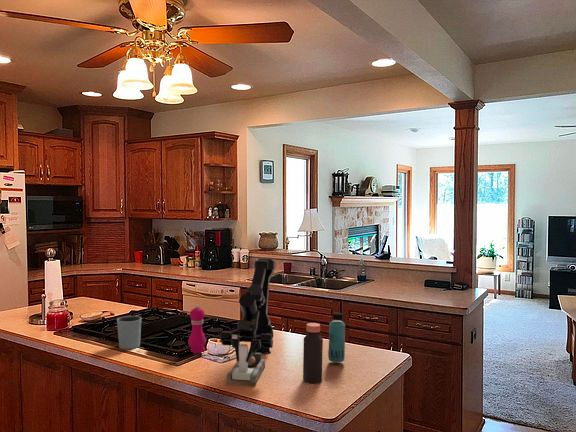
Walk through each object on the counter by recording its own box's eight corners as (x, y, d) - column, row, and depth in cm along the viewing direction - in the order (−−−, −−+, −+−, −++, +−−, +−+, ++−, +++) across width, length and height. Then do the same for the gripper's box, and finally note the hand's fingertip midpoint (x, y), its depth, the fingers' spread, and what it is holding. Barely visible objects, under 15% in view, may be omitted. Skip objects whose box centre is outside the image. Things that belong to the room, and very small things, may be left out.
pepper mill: (206, 349, 204) (207, 302, 203) (204, 355, 197) (204, 306, 196) (189, 349, 204) (190, 302, 203) (186, 355, 196) (187, 306, 196)
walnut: (254, 363, 183) (254, 354, 183) (256, 366, 180) (256, 357, 180) (244, 364, 182) (244, 354, 182) (246, 367, 179) (246, 358, 179)
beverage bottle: (335, 359, 194) (336, 310, 193) (348, 363, 189) (349, 313, 188) (324, 363, 189) (325, 312, 188) (337, 367, 184) (338, 315, 184)
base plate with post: (239, 365, 185) (239, 351, 184) (265, 367, 183) (265, 353, 183) (226, 384, 166) (226, 368, 166) (255, 386, 165) (255, 370, 165)
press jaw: (236, 372, 172) (236, 342, 172) (253, 374, 172) (254, 343, 171) (232, 379, 167) (232, 347, 166) (250, 380, 166) (250, 348, 165)
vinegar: (308, 385, 167) (309, 328, 166) (299, 378, 173) (300, 323, 172) (325, 382, 170) (326, 326, 169) (316, 375, 176) (317, 321, 175)
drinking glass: (131, 351, 200) (131, 322, 200) (111, 348, 203) (111, 320, 203) (146, 344, 210) (146, 316, 209) (126, 341, 213) (126, 314, 212)
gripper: (221, 309, 173) (211, 349, 163) (272, 311, 171) (266, 352, 160) (226, 324, 181) (218, 364, 171) (275, 327, 179) (269, 367, 168)
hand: (242, 361), depth 167 cm, fingers closed on press jaw, 3 cm apart
